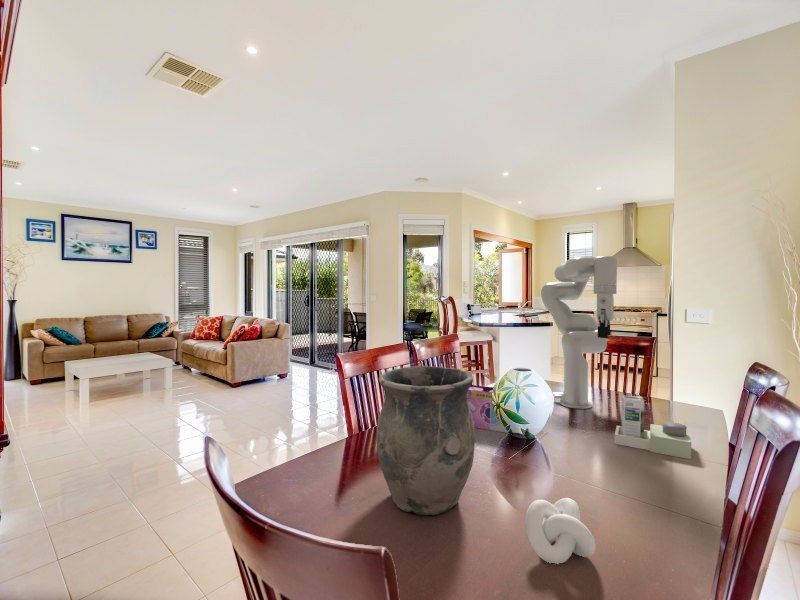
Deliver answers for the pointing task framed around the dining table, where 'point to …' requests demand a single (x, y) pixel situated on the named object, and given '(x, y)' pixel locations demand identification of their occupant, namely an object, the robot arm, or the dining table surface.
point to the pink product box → (483, 408)
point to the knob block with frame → (660, 439)
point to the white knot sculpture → (558, 530)
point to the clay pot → (425, 437)
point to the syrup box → (633, 416)
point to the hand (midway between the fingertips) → (604, 336)
